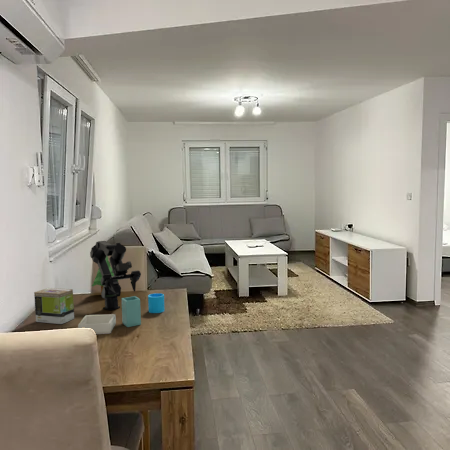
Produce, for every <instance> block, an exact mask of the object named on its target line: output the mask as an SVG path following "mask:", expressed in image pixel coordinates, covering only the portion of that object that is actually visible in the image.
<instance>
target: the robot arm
mask: <svg viewBox="0 0 450 450" xmlns="http://www.w3.org/2000/svg"><path fill="white" fill-rule="evenodd" d="M126 252H127V247H126V246H125V245H123V244H121V242H117V243H116V242H115V243H112V244H111V243H109V242H107V241H106V240H100V241H96V242H95V245H94V246H92V247H91V249H90V251H89V255H90V256H89V257H90V258H91V259H92V262H93V263H95V264H97V267H98V269H100V272H101V275H102V278H101V285H102V286H103V285H104V286H103V290H102V293H101V292H100V296H101V298H102V299H104V307H102V309H103V310H107V311H113V310H117V309H119V308H121V306H119V299H118V297H121V292H122V286H121V285H120V283H119V280H120V281H121V280H126V279H127V280H128V279H129V281H130V285H131V287H132V290H133V292H134V293H135V292H136V286H137V282H138V281H139V279H140V278H141V275H142V272H141V271H140V270H132V271H131V273H129V274H127V273H128V270H130V269H132V268H133V265H132V264H133V263H132V261H130V260H129V261H126V262H124V263H123V259H124V257H125V254H126ZM106 256H108V257H109V258H108V261H109V263H110V265H111V268H112V273H113V274H114V276H112V275H111V272H110V270H109V267H108V265H107V262H106ZM117 280H118V281H117ZM101 285H100V286H101Z"/></svg>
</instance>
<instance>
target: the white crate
mask: <svg viewBox="0 0 450 450" xmlns="http://www.w3.org/2000/svg"><path fill="white" fill-rule="evenodd" d="M116 324H117V320H116V313H111V314H110V313H109V314H89V315H87V314H86V315H85V316H84V317H83V318H82V319H81V321H80V322H79V323H78V325H77V329H78V328H82V327H85V328H92V329H93V330H94V331H95V332H96V334H95V335H106V334H110V335H111V334H112V332H113V331H114V328H115V326H116Z"/></svg>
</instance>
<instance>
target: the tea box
mask: <svg viewBox="0 0 450 450" xmlns="http://www.w3.org/2000/svg"><path fill="white" fill-rule="evenodd" d="M33 293H34V295H33V296H34V310H35V322H37V323H45V324H46V323H47V324H55V325H56V324H57V325H63V324H65V323H67V322H70V321H72V320H75V307H74V305H75V304H74V289H69V288H56V287H54V288H53V287H47V288H44V289H41V290H37V291H34V292H33Z"/></svg>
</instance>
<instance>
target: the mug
mask: <svg viewBox="0 0 450 450" xmlns="http://www.w3.org/2000/svg"><path fill="white" fill-rule="evenodd" d="M147 302H148V303H147V305H148V310H147V311H148V313H150V314H160V313H164V312H165V294H164V293H160V292H159V293H158V292H154V293H150V294H148V295H147Z"/></svg>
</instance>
